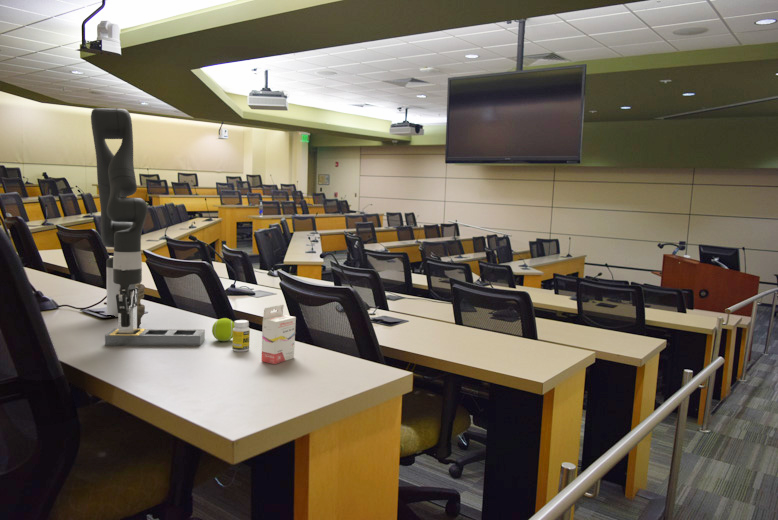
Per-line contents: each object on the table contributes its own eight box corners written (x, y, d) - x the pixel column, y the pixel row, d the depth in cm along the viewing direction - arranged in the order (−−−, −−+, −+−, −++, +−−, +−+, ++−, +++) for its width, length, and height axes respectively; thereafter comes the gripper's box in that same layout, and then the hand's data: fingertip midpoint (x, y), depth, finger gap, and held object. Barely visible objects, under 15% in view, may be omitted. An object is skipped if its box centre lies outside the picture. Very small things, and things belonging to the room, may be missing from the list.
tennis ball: (210, 344, 166) (210, 320, 165) (213, 338, 173) (213, 316, 172) (234, 343, 167) (235, 321, 167) (236, 338, 174) (237, 316, 173)
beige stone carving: (139, 329, 179) (139, 283, 177) (123, 328, 179) (122, 282, 177) (147, 325, 185) (147, 280, 183) (131, 324, 185) (131, 280, 183)
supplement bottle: (244, 352, 158) (245, 323, 157) (229, 351, 159) (229, 322, 158) (252, 348, 163) (252, 320, 162) (237, 347, 164) (237, 318, 163)
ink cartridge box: (275, 365, 148) (276, 310, 147) (260, 361, 151) (262, 308, 149) (295, 357, 156) (296, 305, 154) (281, 354, 158) (282, 303, 157)
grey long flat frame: (114, 338, 167) (114, 328, 166) (204, 339, 171) (204, 329, 171) (105, 345, 159) (104, 334, 159) (200, 345, 163) (200, 335, 163)
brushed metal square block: (122, 335, 165) (122, 305, 164) (137, 335, 166) (136, 305, 165) (118, 339, 161) (118, 308, 160) (133, 339, 162) (133, 308, 161)
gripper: (121, 263, 168) (121, 319, 170) (105, 269, 154) (105, 330, 156) (147, 264, 169) (147, 319, 171) (134, 270, 155) (134, 330, 157)
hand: (127, 324), depth 163 cm, fingers closed on brushed metal square block, 4 cm apart
